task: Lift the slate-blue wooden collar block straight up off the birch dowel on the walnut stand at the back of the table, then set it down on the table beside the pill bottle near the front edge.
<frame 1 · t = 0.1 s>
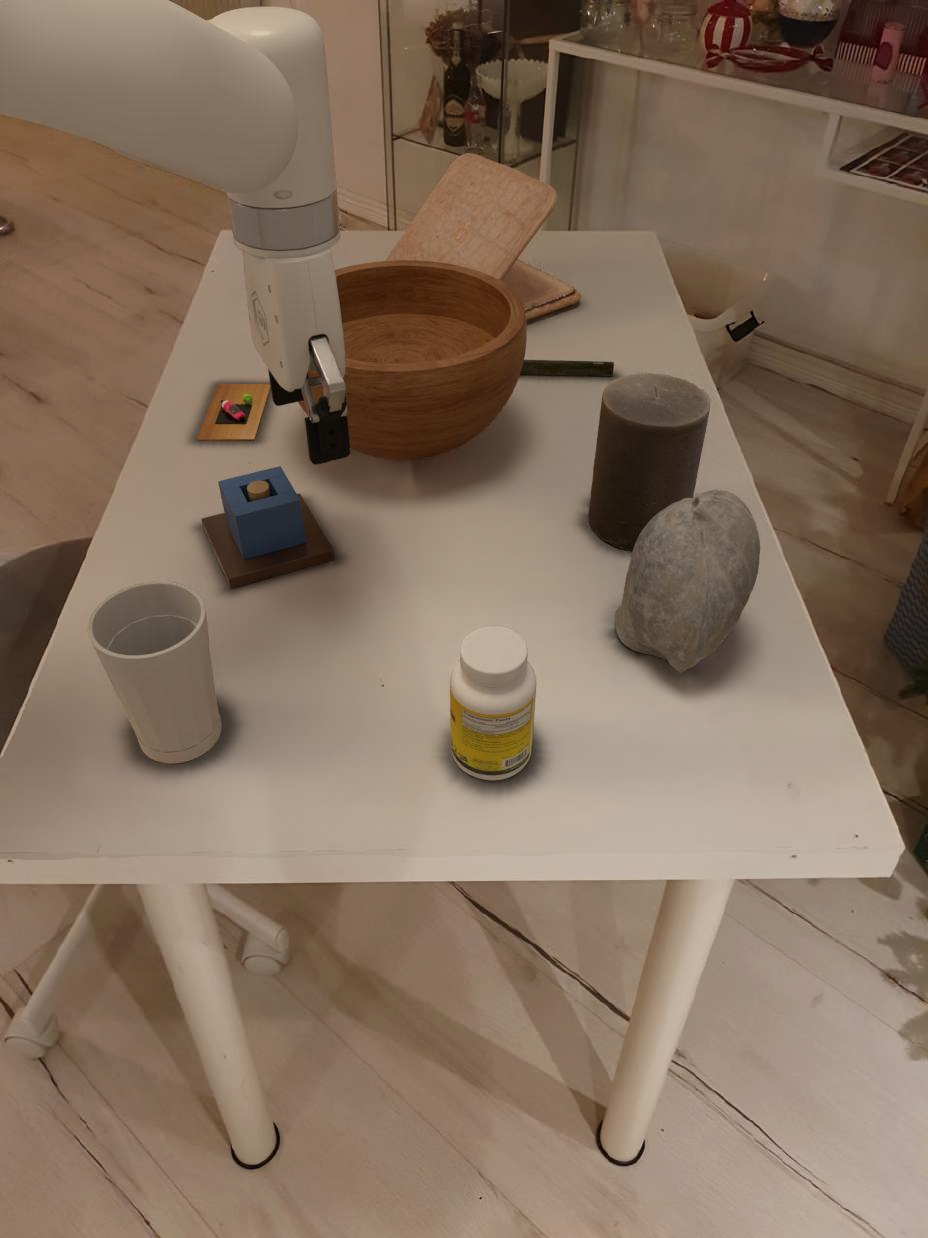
hand: (310, 429, 80), 15 cm above the table, tool pointing down, fingers open, 9 cm apart
board: (235, 413, 111), on the table
case: (480, 299, 133), on the table
pillar candle: (637, 523, 96), on the table
collar block: (266, 533, 93), point 1 cm above the table, touching dowel stand
dowel stand: (267, 543, 94), on the table
decorative stone: (673, 634, 85), on the table
rod: (482, 375, 118), on the table
bowl: (406, 443, 107), on the table
pill bottle: (490, 753, 75), on the table
cup: (181, 733, 76), on the table
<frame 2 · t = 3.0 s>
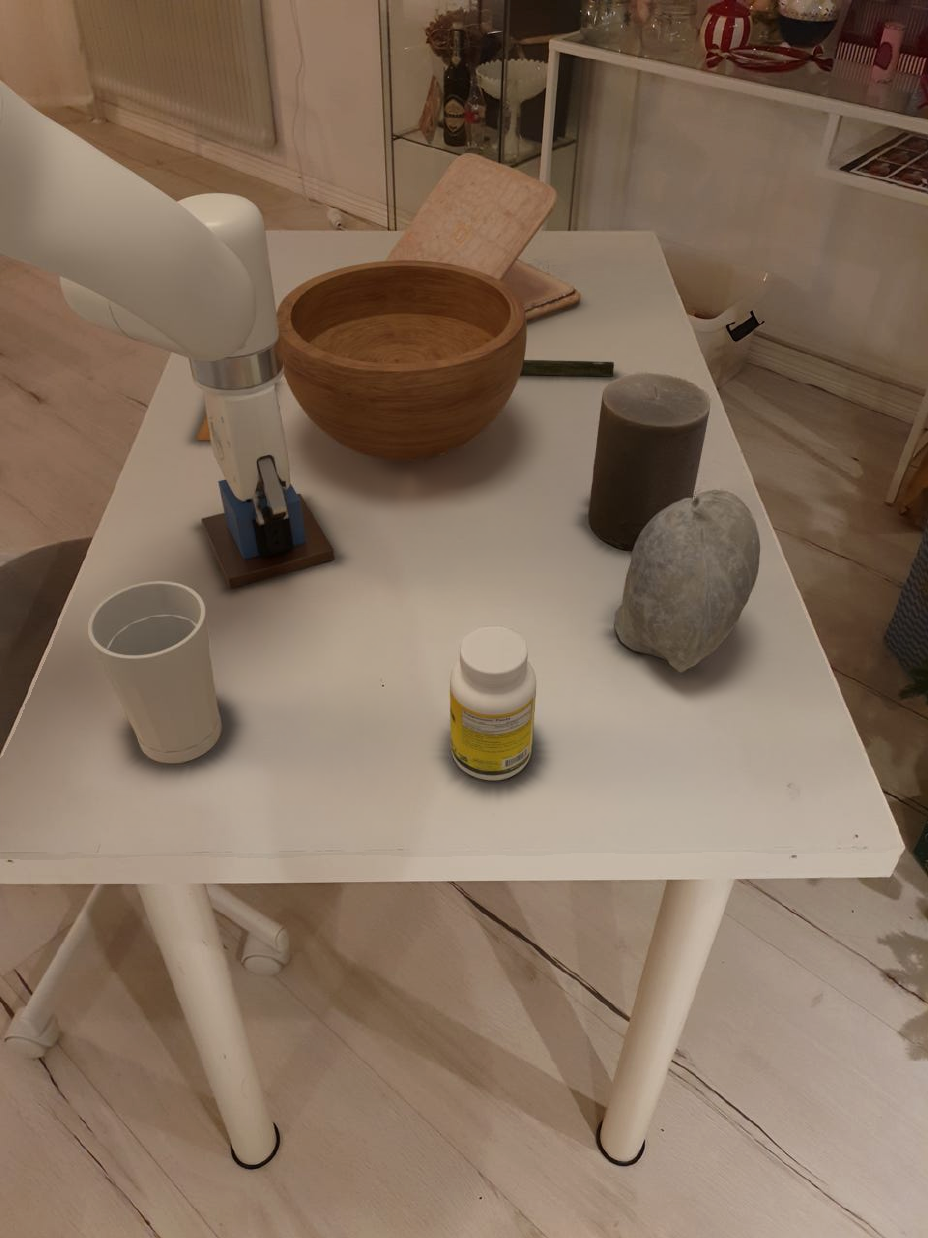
hand: (265, 530, 92), 2 cm above the table, tool pointing down, fingers closed on collar block, 6 cm apart
collar block: (266, 533, 93), point 1 cm above the table, touching dowel stand, gripper
everything else where it was.
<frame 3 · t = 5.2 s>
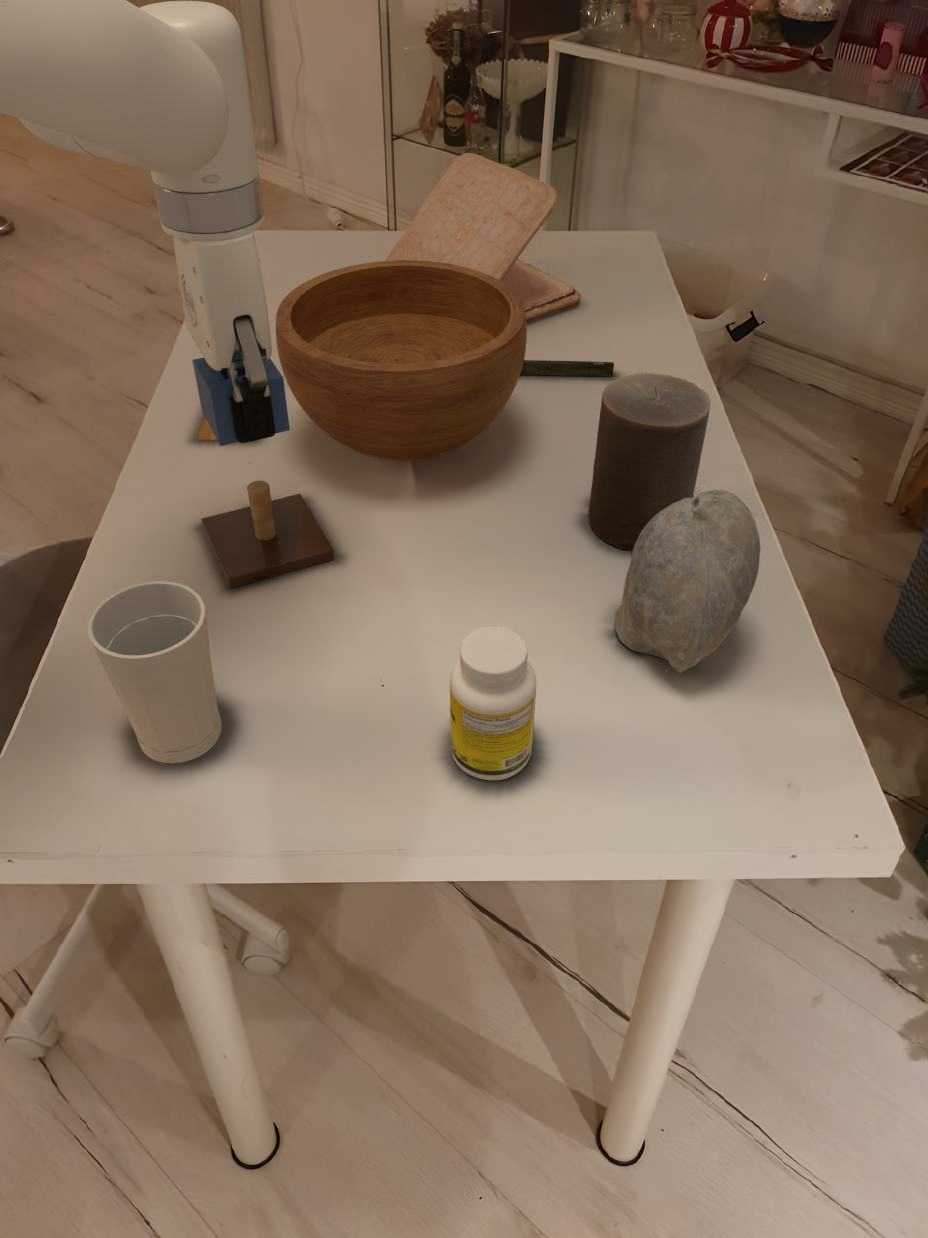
hand: (244, 417, 83), 14 cm above the table, tool pointing down, fingers closed on collar block, 6 cm apart
collar block: (245, 421, 84), point 14 cm above the table, touching gripper
everything else where it was.
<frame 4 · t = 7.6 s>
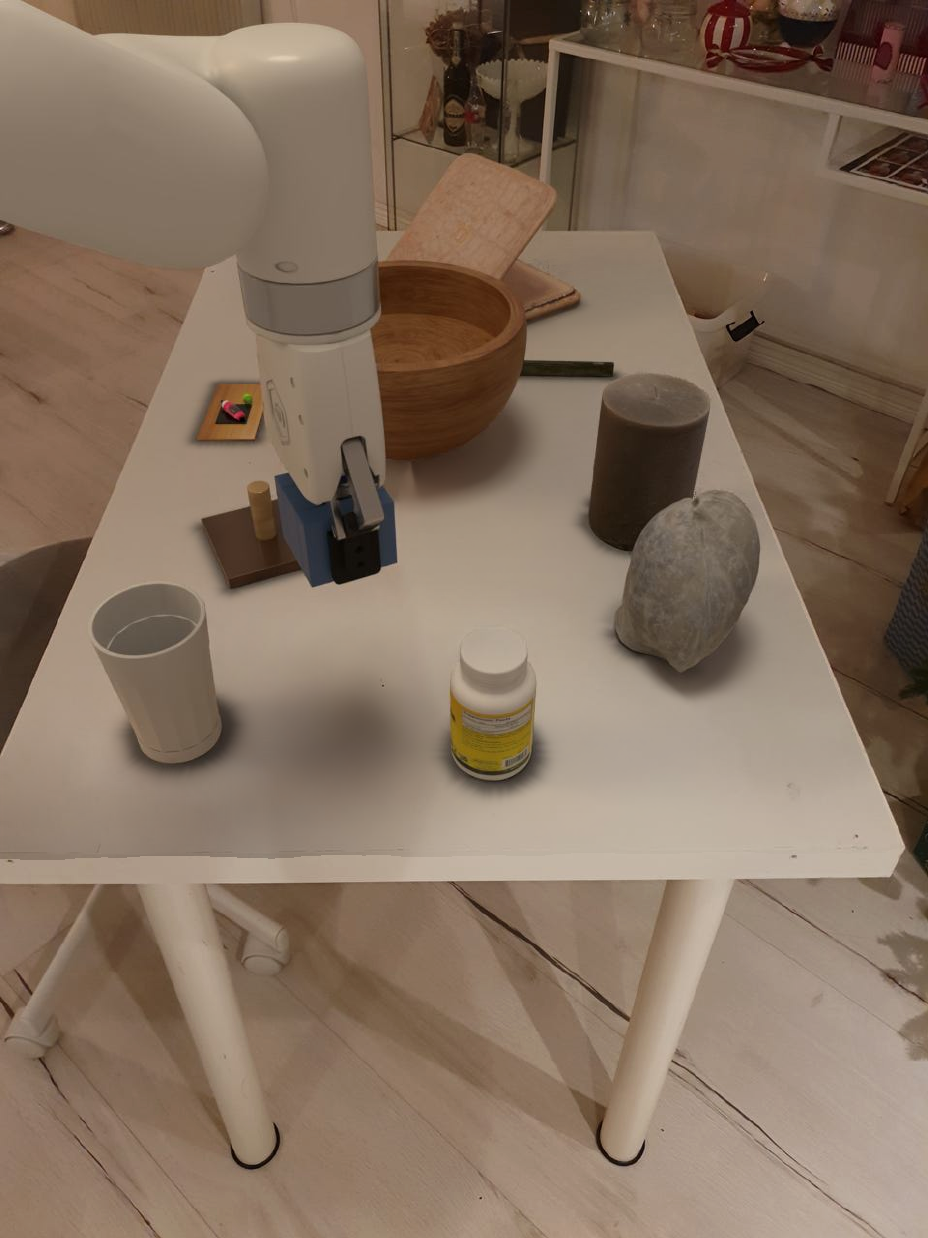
hand: (338, 545, 66), 17 cm above the table, tool pointing down, fingers closed on collar block, 6 cm apart
collar block: (339, 549, 66), point 17 cm above the table, touching gripper
everything else where it was.
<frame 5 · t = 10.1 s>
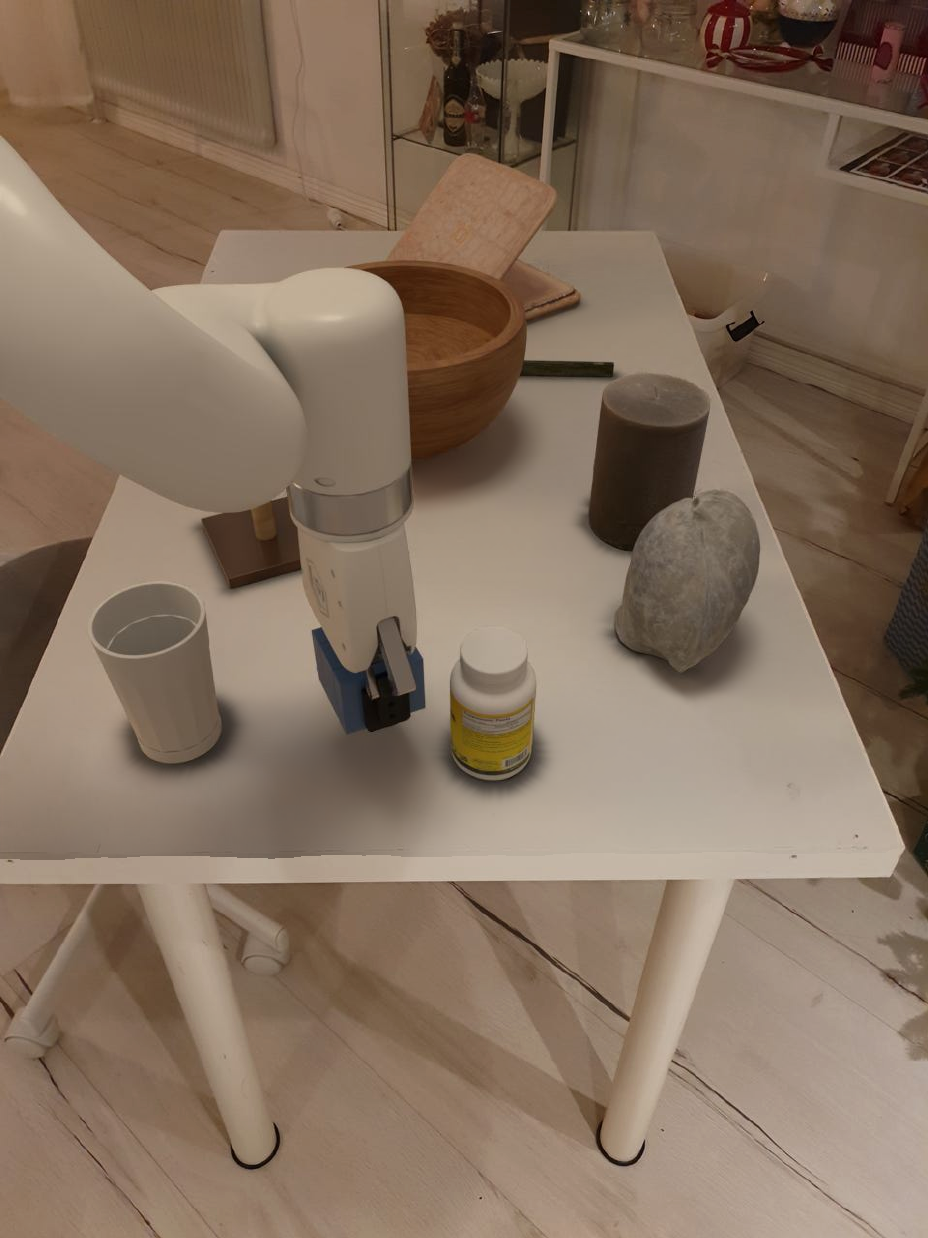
hand: (370, 690, 71), 7 cm above the table, tool pointing down, fingers closed on collar block, 6 cm apart
collar block: (371, 693, 71), point 6 cm above the table, touching gripper
everything else where it was.
when the fingers open (0 cm above the table, at t = 12.1 s): collar block stays where it is, on the table.
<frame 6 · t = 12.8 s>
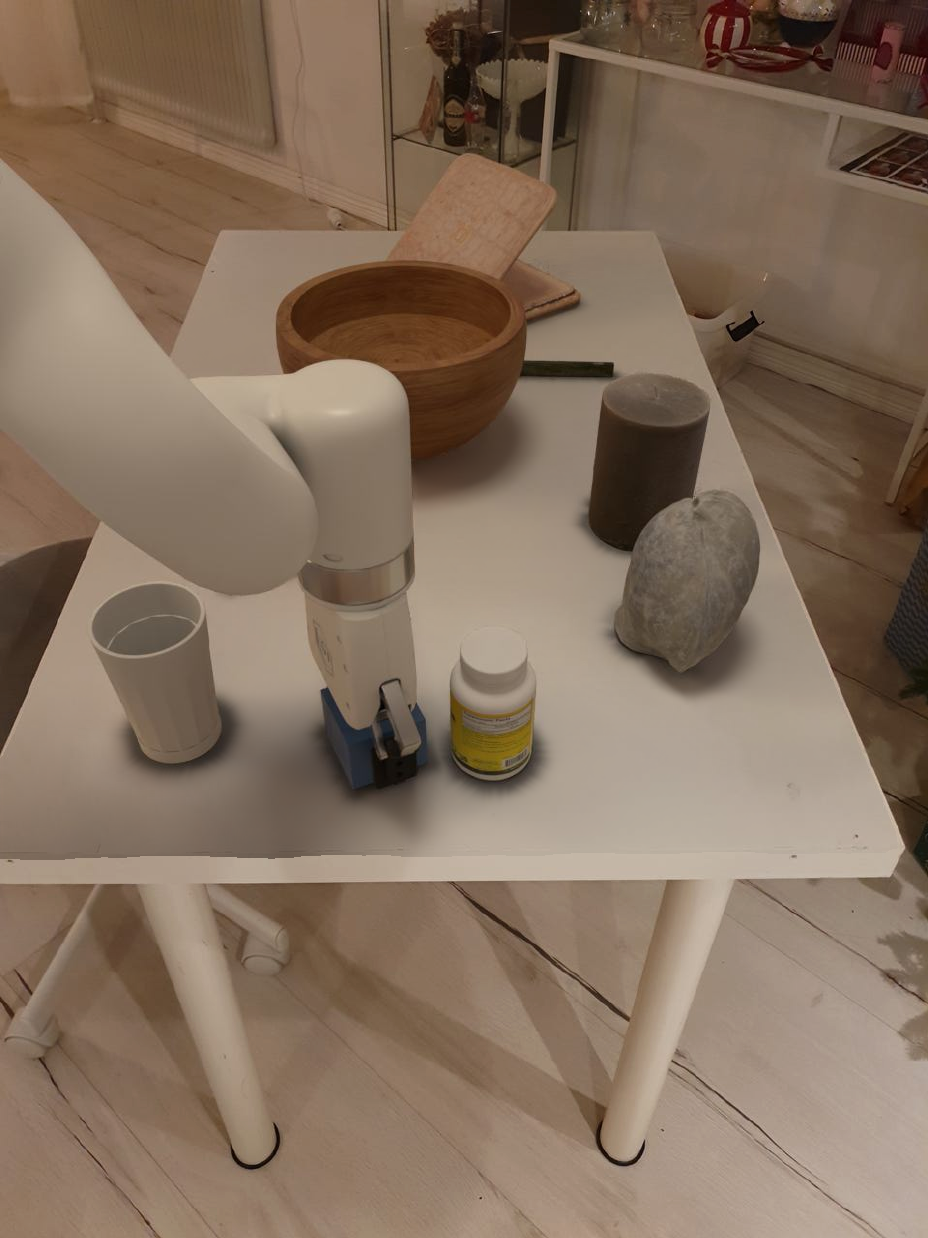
hand: (370, 733, 74), 2 cm above the table, tool pointing down, fingers open, 9 cm apart
collar block: (376, 748, 75), on the table
everything else where it was.
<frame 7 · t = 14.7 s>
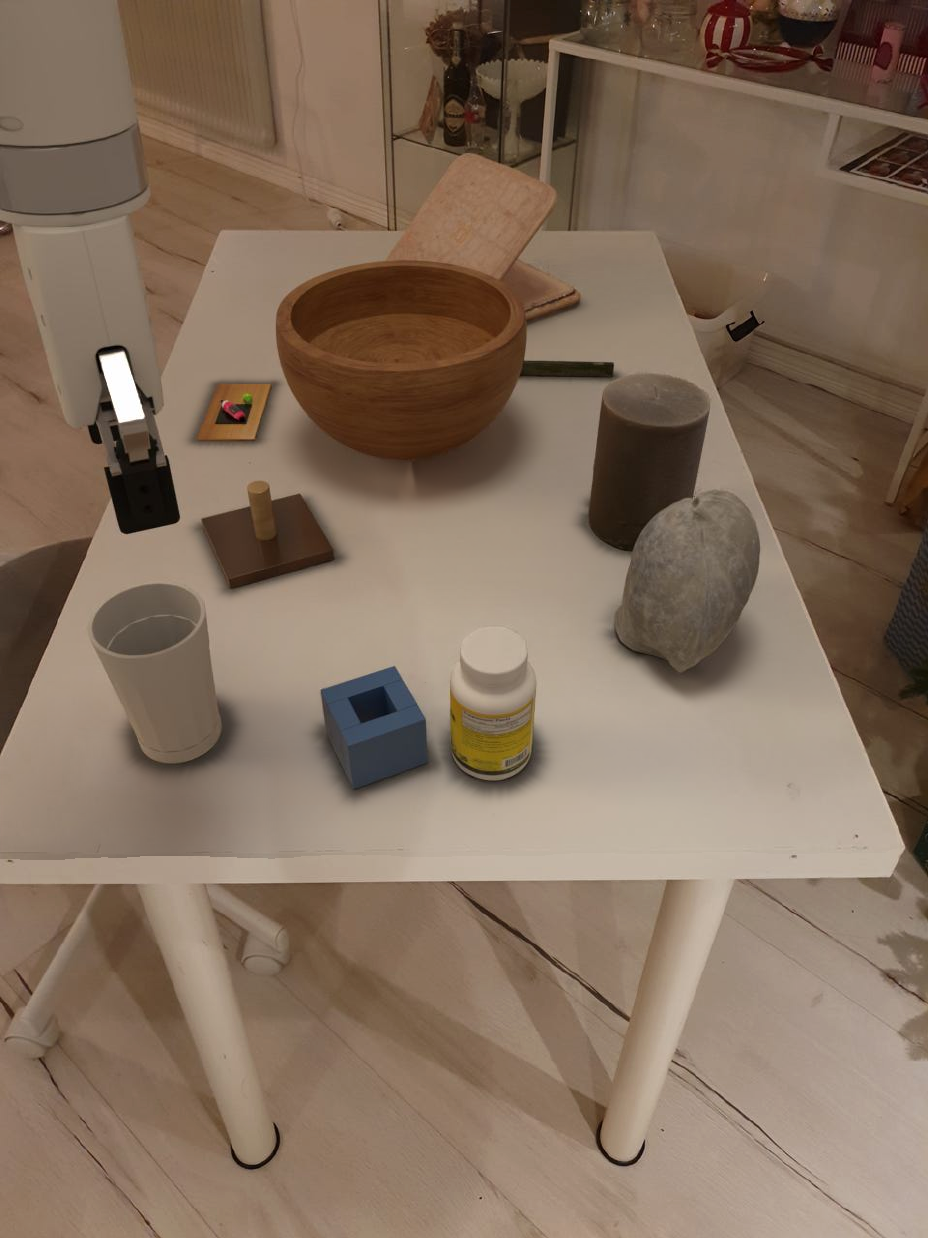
hand: (133, 479, 56), 26 cm above the table, tool pointing down, fingers open, 9 cm apart
nothing on the table moved.
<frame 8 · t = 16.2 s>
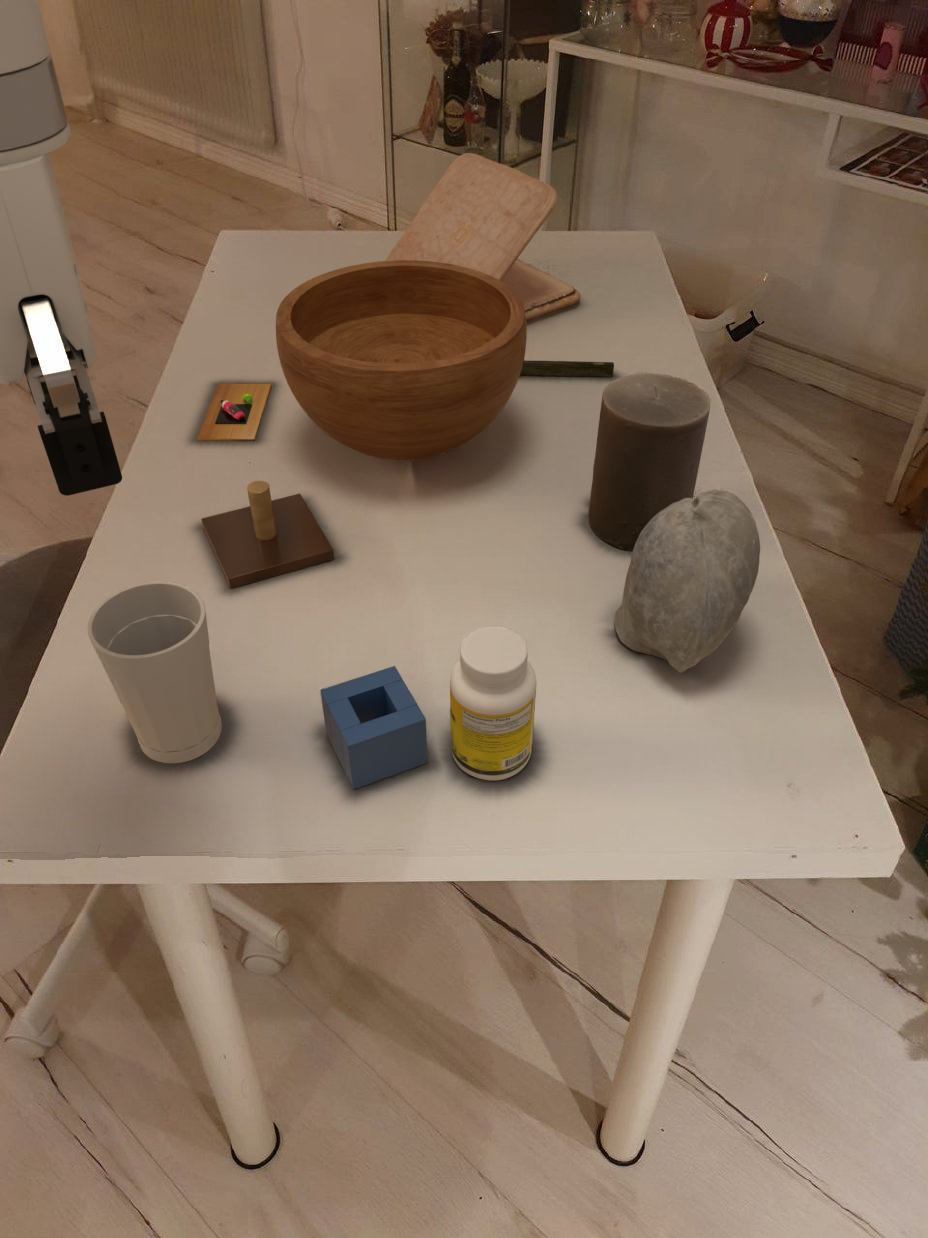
hand: (77, 441, 55), 28 cm above the table, tool pointing down, fingers open, 9 cm apart
nothing on the table moved.
at the end: collar block inside the target area on the table beside the pill bottle (0.5 cm from its centre), on the table; collar block tilted 0°; collar block moved 28.0 cm from its start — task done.
